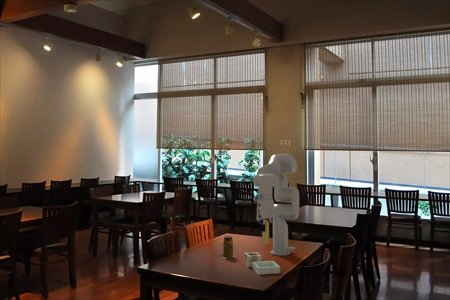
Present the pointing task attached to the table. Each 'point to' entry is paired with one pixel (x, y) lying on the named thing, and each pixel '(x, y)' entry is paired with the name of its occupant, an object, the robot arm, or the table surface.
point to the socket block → (251, 258)
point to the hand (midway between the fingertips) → (265, 230)
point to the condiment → (227, 247)
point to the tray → (266, 267)
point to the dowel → (266, 233)
